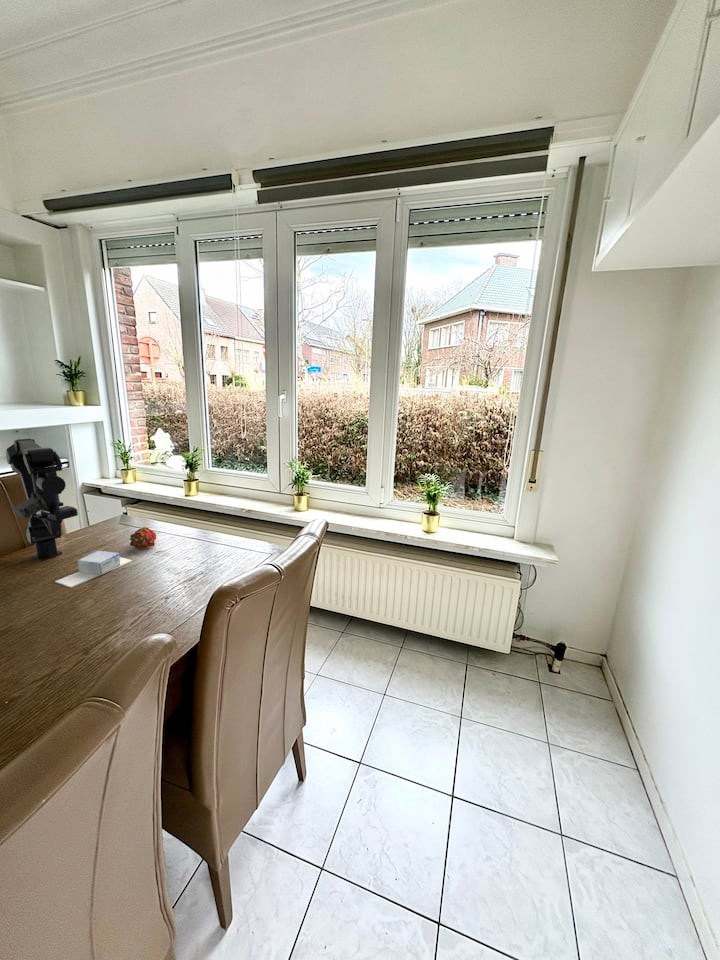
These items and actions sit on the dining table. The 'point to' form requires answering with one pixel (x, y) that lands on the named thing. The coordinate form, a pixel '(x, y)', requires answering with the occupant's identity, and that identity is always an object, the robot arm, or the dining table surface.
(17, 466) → the robot arm
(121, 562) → the mat
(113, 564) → the medicine box
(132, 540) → the dragon fruit
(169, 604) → the dining table surface
